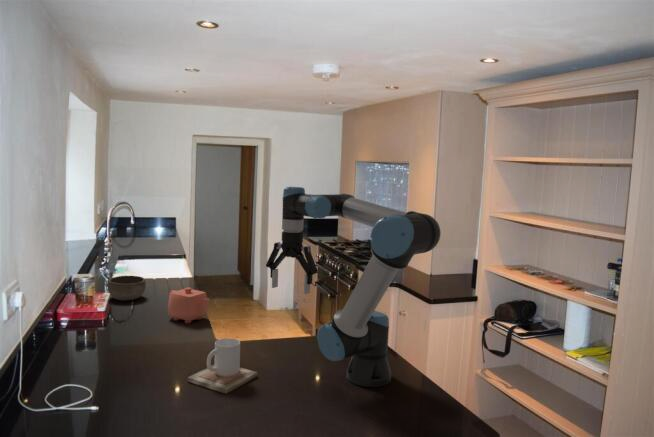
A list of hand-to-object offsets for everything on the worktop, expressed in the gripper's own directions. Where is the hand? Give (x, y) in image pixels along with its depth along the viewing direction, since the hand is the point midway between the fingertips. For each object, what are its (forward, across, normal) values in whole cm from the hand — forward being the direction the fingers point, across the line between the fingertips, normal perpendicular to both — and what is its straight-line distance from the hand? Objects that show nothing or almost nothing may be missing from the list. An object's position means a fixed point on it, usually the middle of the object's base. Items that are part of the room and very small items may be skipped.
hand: (290, 290), depth 188 cm
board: (+27, +10, +24) cm, 37 cm away
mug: (+25, +10, +24) cm, 36 cm away
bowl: (+27, +112, -24) cm, 118 cm away
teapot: (+27, +64, -17) cm, 72 cm away
